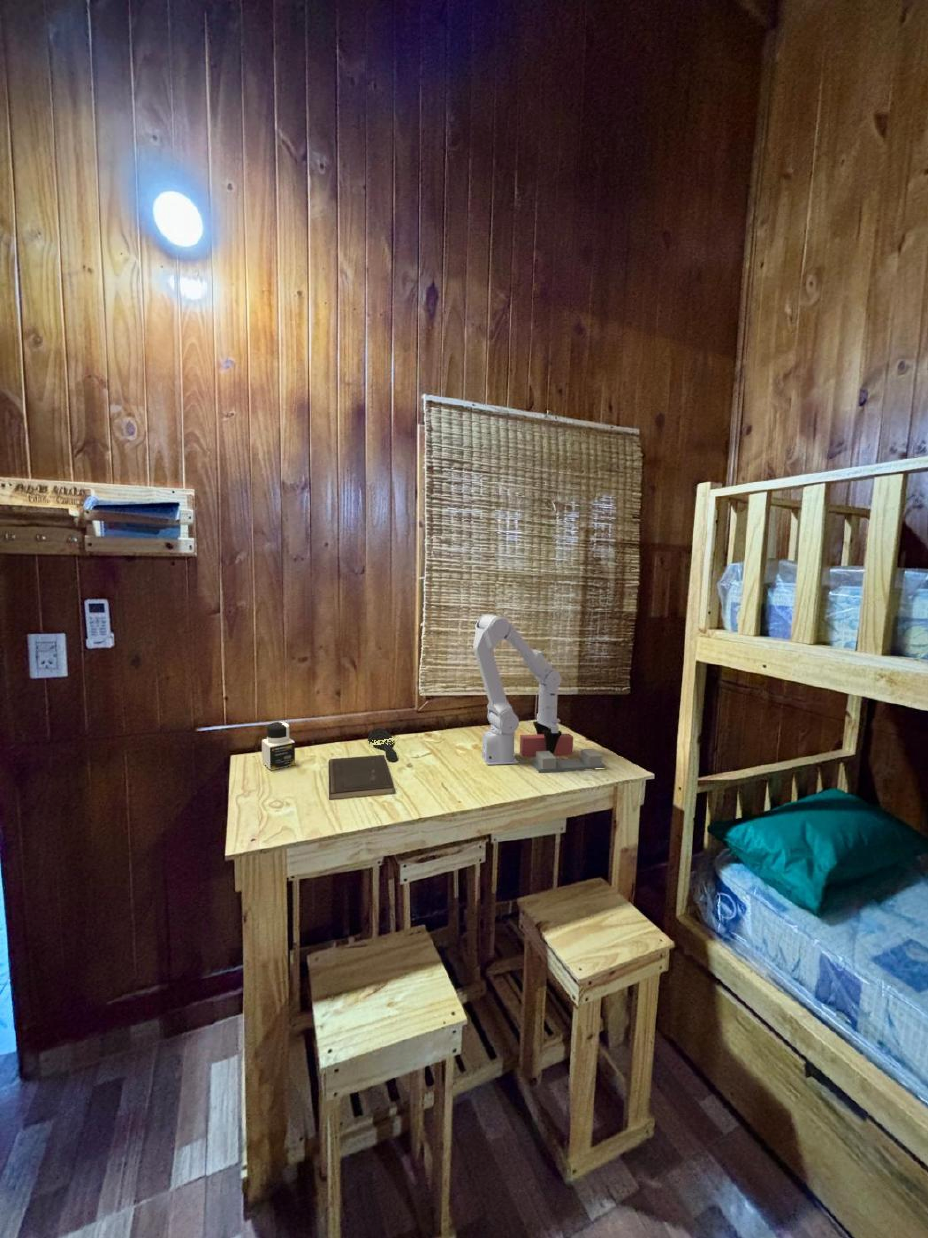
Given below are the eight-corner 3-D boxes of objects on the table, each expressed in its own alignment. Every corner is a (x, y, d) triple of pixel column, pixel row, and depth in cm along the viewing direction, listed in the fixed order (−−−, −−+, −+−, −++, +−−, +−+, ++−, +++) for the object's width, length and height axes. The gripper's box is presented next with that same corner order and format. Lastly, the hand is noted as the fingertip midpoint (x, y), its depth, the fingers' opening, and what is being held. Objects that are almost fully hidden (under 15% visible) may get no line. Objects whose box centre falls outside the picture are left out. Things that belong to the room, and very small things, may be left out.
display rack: (538, 772, 145) (539, 759, 145) (532, 764, 151) (532, 751, 150) (604, 769, 148) (605, 755, 148) (595, 761, 154) (596, 748, 154)
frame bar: (522, 757, 157) (523, 738, 156) (519, 753, 160) (520, 735, 160) (572, 755, 159) (573, 737, 159) (568, 751, 163) (569, 733, 162)
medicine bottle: (270, 771, 143) (269, 729, 141) (261, 763, 148) (261, 723, 147) (295, 765, 147) (294, 724, 146) (286, 758, 153) (285, 718, 151)
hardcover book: (384, 762, 152) (384, 754, 152) (394, 795, 130) (394, 786, 130) (328, 766, 148) (328, 759, 148) (329, 801, 126) (328, 792, 126)
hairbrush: (380, 756, 149) (365, 726, 172) (379, 768, 149) (365, 737, 173) (407, 753, 152) (389, 724, 175) (407, 765, 152) (389, 735, 175)
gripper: (568, 712, 152) (567, 756, 153) (551, 699, 166) (550, 740, 168) (546, 712, 151) (544, 757, 152) (531, 700, 165) (529, 741, 166)
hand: (546, 748), depth 160 cm, fingers open, 7 cm apart
